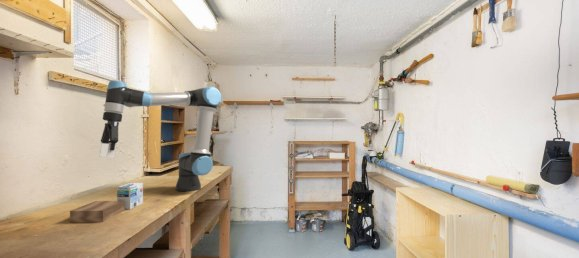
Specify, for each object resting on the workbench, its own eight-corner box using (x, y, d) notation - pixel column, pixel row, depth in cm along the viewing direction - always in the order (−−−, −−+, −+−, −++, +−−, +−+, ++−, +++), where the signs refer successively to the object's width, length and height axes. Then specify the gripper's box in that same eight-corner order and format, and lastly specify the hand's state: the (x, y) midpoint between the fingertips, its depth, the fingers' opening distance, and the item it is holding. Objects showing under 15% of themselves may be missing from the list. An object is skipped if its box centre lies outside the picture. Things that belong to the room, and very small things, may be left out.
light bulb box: (130, 209, 123) (130, 186, 123) (116, 209, 123) (116, 186, 123) (143, 203, 134) (143, 182, 134) (130, 203, 134) (130, 182, 134)
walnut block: (124, 211, 121) (124, 200, 122) (102, 222, 106) (103, 210, 107) (95, 211, 121) (95, 201, 121) (69, 223, 106) (70, 211, 106)
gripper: (97, 113, 131) (91, 156, 128) (111, 108, 114) (103, 157, 111) (115, 116, 136) (109, 156, 133) (130, 111, 119) (123, 158, 116)
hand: (106, 157), depth 122 cm, fingers open, 13 cm apart
